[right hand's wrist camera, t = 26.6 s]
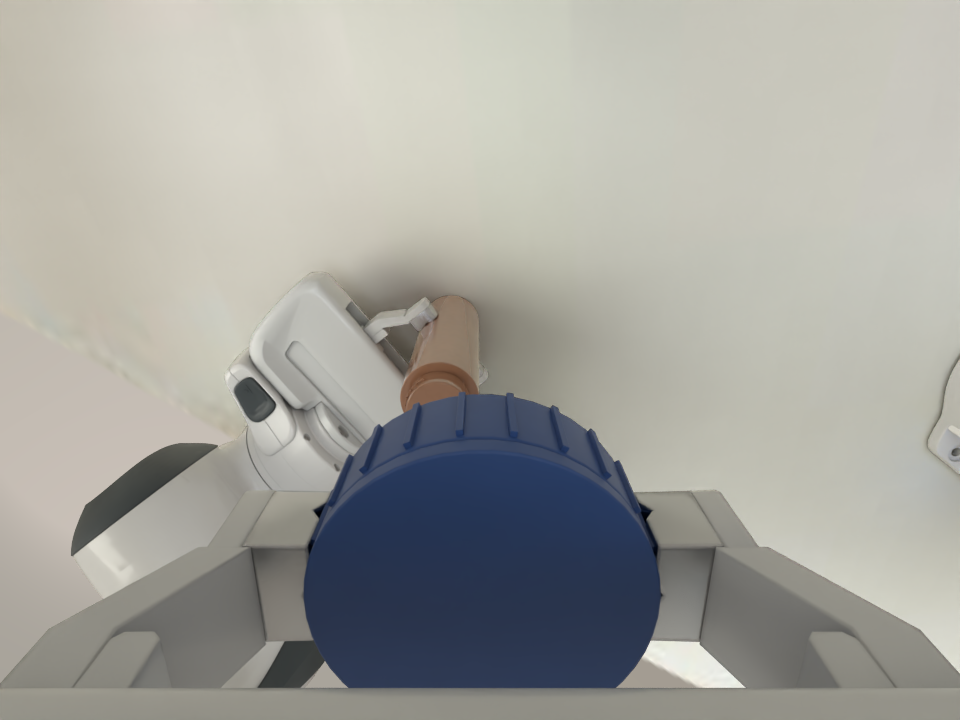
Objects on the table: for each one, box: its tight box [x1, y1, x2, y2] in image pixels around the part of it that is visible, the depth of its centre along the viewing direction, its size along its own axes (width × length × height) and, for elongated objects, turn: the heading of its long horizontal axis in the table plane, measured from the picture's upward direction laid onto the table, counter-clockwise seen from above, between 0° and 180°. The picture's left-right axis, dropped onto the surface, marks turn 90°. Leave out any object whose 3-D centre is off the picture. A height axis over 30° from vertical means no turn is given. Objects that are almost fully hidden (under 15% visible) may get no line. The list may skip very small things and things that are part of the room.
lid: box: [303, 392, 661, 688], centre depth 9 cm, size 5×5×2 cm
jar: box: [400, 295, 479, 413], centre depth 41 cm, size 5×5×17 cm
